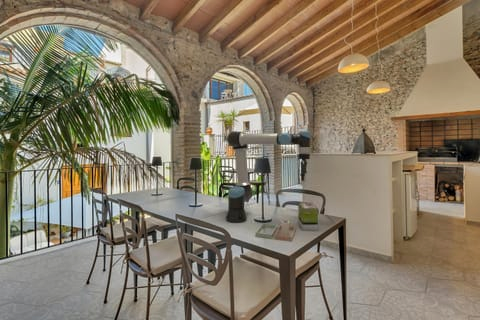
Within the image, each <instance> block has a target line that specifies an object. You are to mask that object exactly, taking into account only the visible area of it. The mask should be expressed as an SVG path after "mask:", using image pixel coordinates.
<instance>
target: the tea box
mask: <svg viewBox="0 0 480 320" xmlns="http://www.w3.org/2000/svg"><path fill="white" fill-rule="evenodd" d="M297 210H298V211H297V212H298V213H297V215H298V216H297V217H298V218H297V222H298V224H299V226H300V227H301V229H302V231H318V230H319V207H318V206H316V205H315V204H314V202H311V201H310V202H309V201H308V202H298V203H297Z"/></svg>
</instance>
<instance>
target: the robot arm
mask: <svg viewBox="0 0 480 320" xmlns="http://www.w3.org/2000/svg"><path fill="white" fill-rule="evenodd" d="M226 141H227V143H228V145H229V146H231V147H232V150H233V152H234V156H235V166H236V169H235V170H236V180H237V181H236V183H235V186H232V187H230V188H229V189H228V193H227V195H228V198H227V199H228V201H227V202H228V203H227V204H228V210H227V213H226V216H225V221H226V222H229V223H232V224H233V223H234V224H240V223H243V222H246V221H247V219H248V217H247V213H246V211H245V203H247V202H248V201H249V200H251V199H252V198H253V196H254V189H253V188H252V185H251V182H249V174H248V173H249V170H248V160H247V150H248V149H249V146H248V145H274V146H275V145H276V146H277V145H278V146H280V145H283V146H290V145H291V146H292V145H293V146H296V145H298V159H299V160H301V161H300V167H301V168H300V174H299V176H300V186H302V187H303V186H304V187H305V186H306V183H307V174H308V171H307V167H308V166H307V165H308V160H310V159H311V157H310V155H311V154H310V153H311V151H312V149H311V132H310V130H299V131H298V133H287V132H283V133H281V132H280V133H277V132H276V133H273V132H272V133H271V132H270V133H269V132H267V133H266V132H265V133H262V132H261V133H246V132H244V131H239V130H237V131H235V130H233V131H231V132H229V133H228V134H227V137H226Z"/></svg>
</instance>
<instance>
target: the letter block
mask: <svg viewBox="0 0 480 320" xmlns="http://www.w3.org/2000/svg"><path fill="white" fill-rule="evenodd" d="M281 225H282V229H281V235H282V236H290V230H289V226H290V221H289V220H282V221H281Z"/></svg>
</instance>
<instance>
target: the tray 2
mask: <svg viewBox="0 0 480 320" xmlns="http://www.w3.org/2000/svg"><path fill="white" fill-rule="evenodd" d="M296 228H297V227H296V226H291V225H289V231H291V232H292V234H291V236H290V235H289V236H282V234H281V235H280V234H279V233H280V231H281V230H282V224H281V225H279V226H278V229H277V231H276V232H275V234H274V236H273V237H274V240H279V241H286V242H287V241H288V242H292V241H293V239H294V236H295V234H296Z"/></svg>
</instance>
